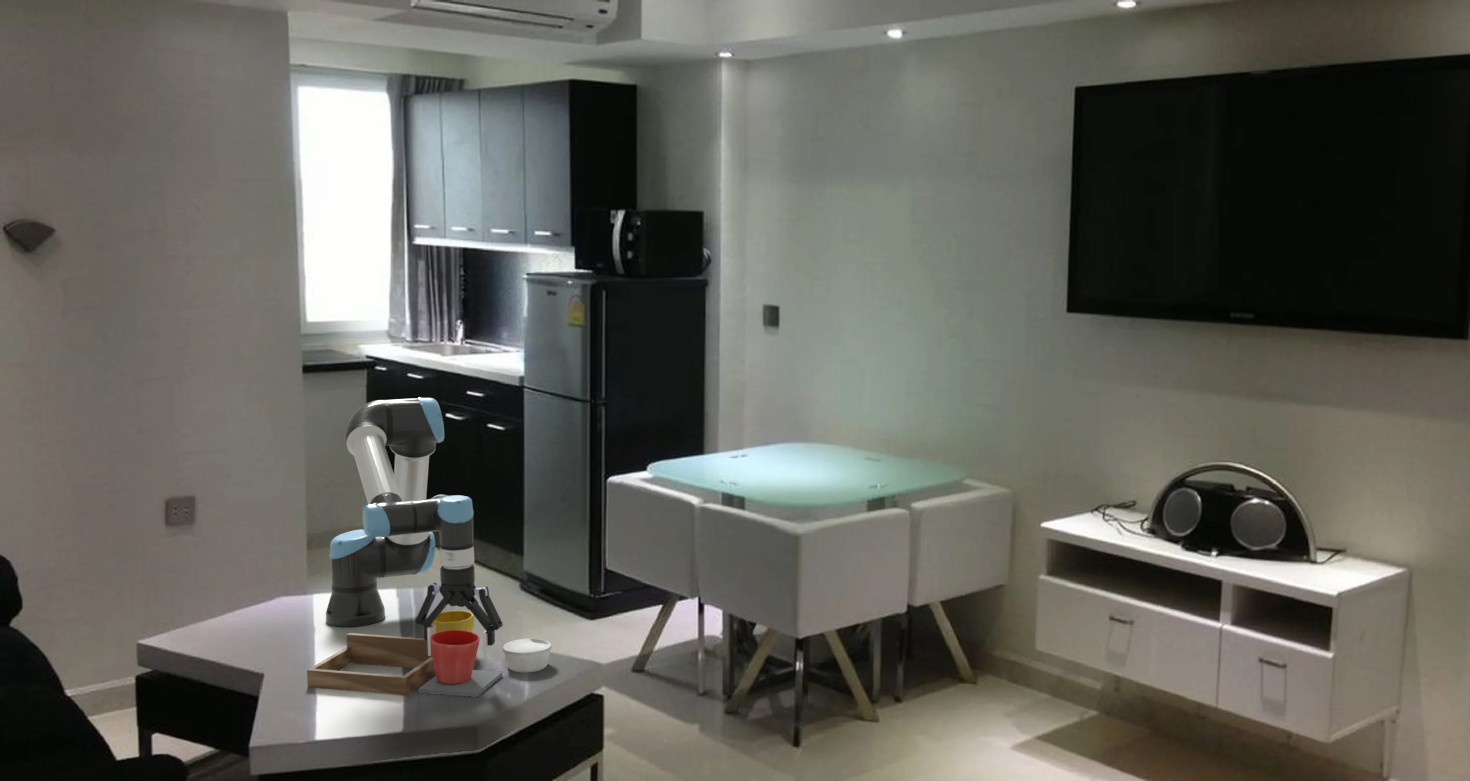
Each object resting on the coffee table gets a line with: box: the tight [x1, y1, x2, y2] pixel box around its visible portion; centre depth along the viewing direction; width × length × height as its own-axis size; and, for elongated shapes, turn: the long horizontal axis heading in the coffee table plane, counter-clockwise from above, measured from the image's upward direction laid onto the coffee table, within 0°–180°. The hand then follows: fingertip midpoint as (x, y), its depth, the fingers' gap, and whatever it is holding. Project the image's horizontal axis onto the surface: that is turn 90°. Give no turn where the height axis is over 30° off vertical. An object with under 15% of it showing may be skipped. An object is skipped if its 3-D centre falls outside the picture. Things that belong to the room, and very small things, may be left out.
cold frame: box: [306, 632, 436, 696], centre depth 291 cm, size 18×24×7 cm
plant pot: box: [431, 609, 475, 633], centre depth 307 cm, size 10×10×10 cm
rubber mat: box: [417, 669, 503, 698], centre depth 287 cm, size 14×14×1 cm
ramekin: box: [502, 637, 552, 673], centre depth 299 cm, size 11×11×5 cm
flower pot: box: [430, 630, 481, 684], centre depth 287 cm, size 11×11×10 cm
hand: (459, 656), depth 286 cm, fingers open, 13 cm apart
